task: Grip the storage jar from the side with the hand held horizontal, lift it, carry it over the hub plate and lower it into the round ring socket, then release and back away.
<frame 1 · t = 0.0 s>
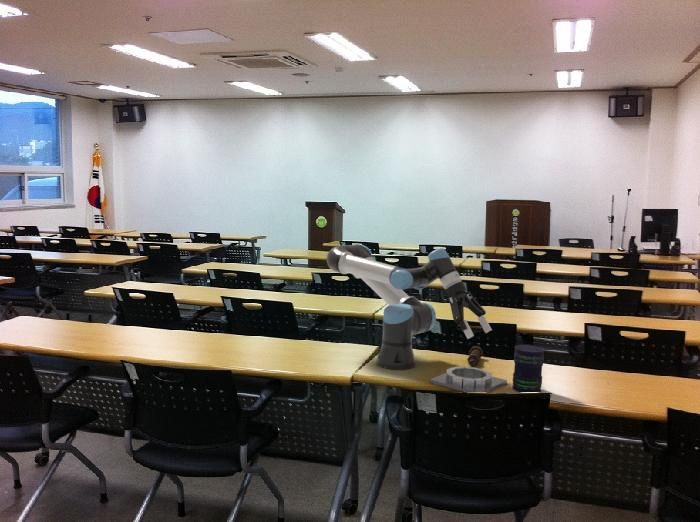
hand: (480, 334, 215), 15 cm above the table, tool tilted 35°, fingers open, 13 cm apart
storage jar: (526, 390, 201), on the table
brown piece: (473, 363, 232), on the table
hub plate: (468, 382, 206), on the table
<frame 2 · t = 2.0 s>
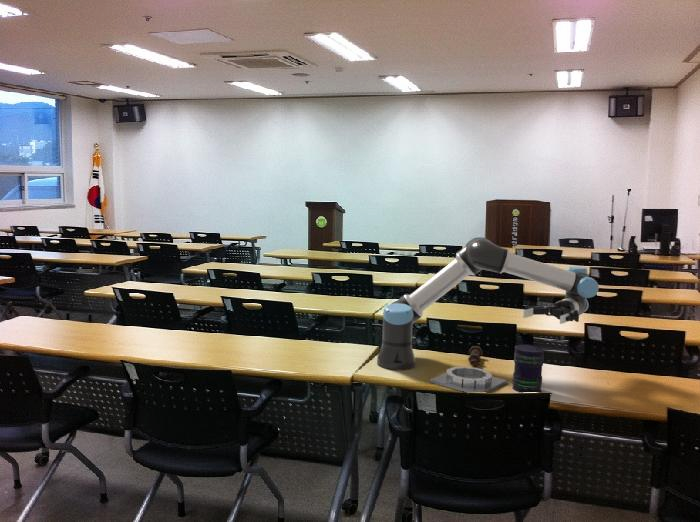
hand: (542, 317, 205), 25 cm above the table, tool horizontal, fingers open, 13 cm apart
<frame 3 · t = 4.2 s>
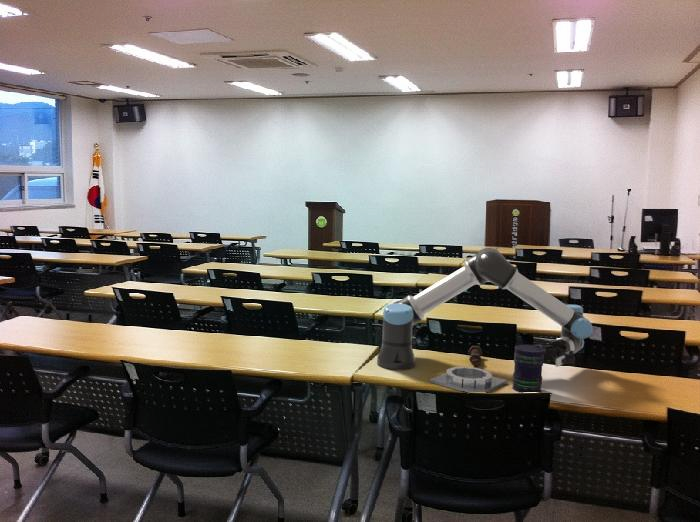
hand: (538, 358, 204), 10 cm above the table, tool horizontal, fingers open, 13 cm apart
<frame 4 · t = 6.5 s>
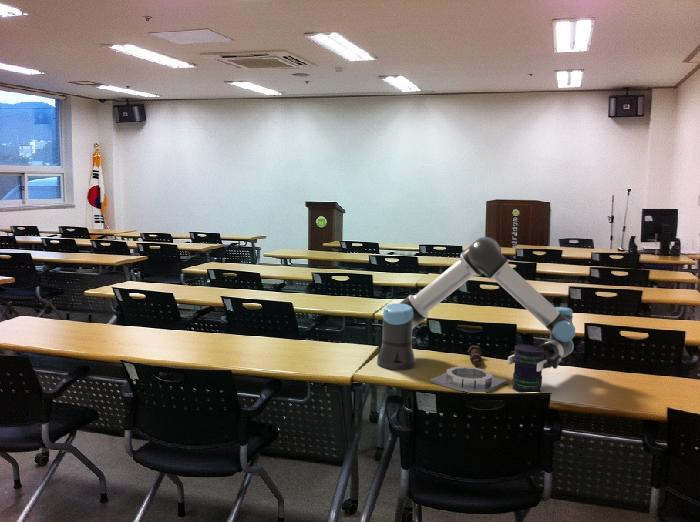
hand: (523, 364, 196), 10 cm above the table, tool horizontal, fingers closed on storage jar, 10 cm apart
storage jar: (526, 389, 201), on the table, touching gripper
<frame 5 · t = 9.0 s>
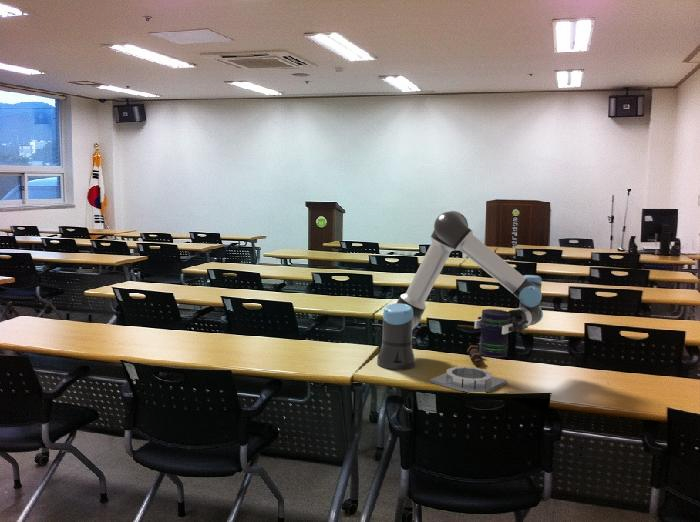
hand: (488, 327, 198), 22 cm above the table, tool horizontal, fingers closed on storage jar, 10 cm apart
storage jar: (493, 353, 202), point 12 cm above the table, touching gripper
when the fingers open (13 cm above the table, at t = 11.8 s): storage jar drops 1 cm, resting on hub plate.
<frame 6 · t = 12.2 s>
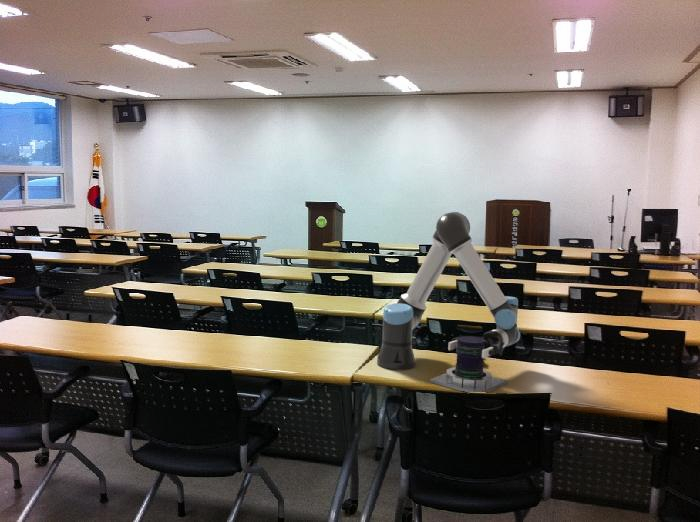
hand: (465, 350, 202), 13 cm above the table, tool horizontal, fingers open, 13 cm apart
storage jar: (468, 380, 206), point 1 cm above the table, touching hub plate
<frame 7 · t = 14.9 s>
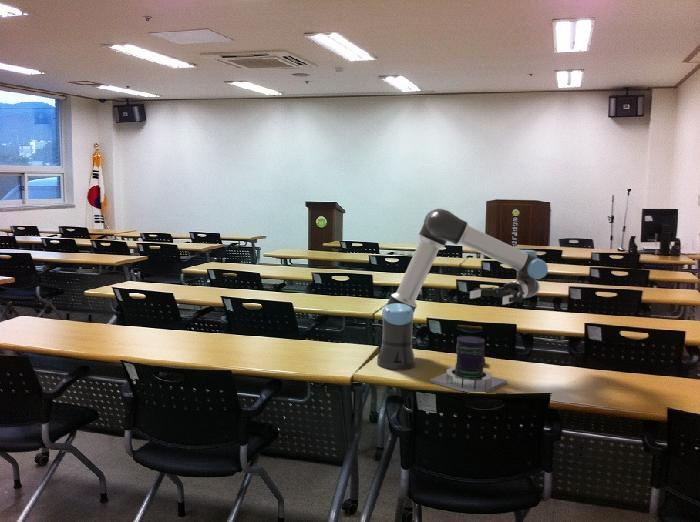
hand: (486, 297, 211), 30 cm above the table, tool horizontal, fingers open, 13 cm apart
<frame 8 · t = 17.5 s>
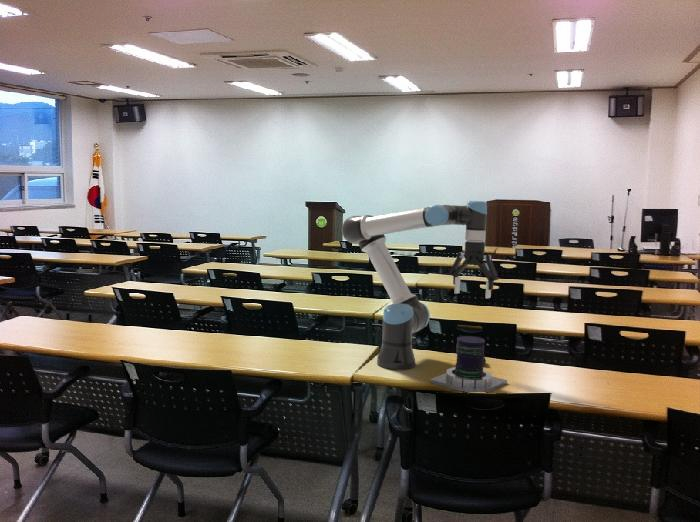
hand: (472, 295, 222), 29 cm above the table, tool pointing down, fingers open, 13 cm apart
at the end: storage jar 0.1 cm from the hub plate (horizontally); storage jar tilted 0°; storage jar point 1.0 cm above the table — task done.
